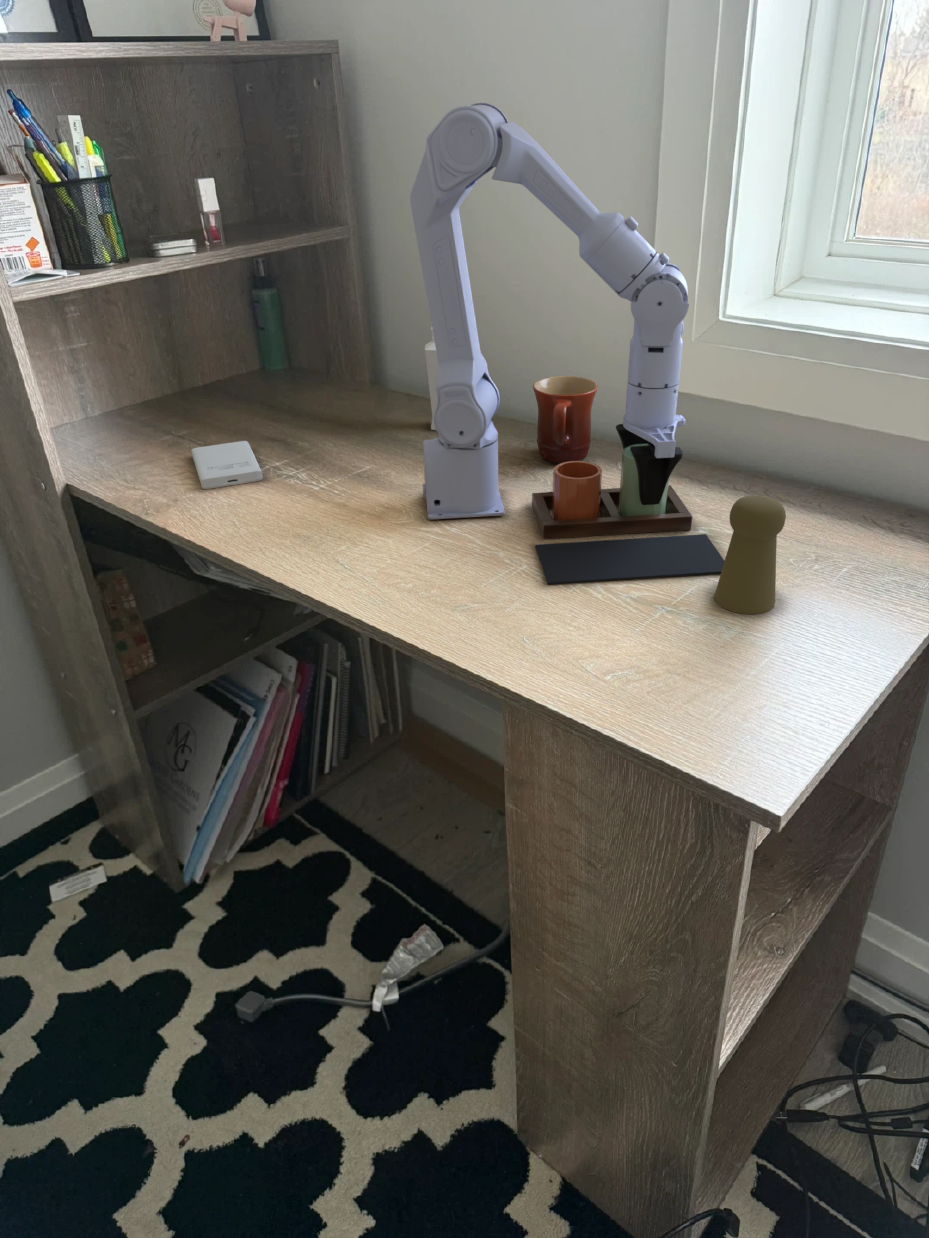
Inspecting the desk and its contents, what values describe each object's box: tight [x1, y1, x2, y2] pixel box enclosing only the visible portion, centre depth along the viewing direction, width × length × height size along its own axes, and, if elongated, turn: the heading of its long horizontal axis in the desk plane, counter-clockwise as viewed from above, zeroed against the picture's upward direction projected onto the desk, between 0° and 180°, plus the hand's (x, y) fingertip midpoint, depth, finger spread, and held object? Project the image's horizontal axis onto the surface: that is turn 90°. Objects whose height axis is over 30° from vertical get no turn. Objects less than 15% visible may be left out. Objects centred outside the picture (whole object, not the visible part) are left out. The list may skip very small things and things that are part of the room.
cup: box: [618, 444, 670, 516], centre depth 107 cm, size 6×6×8 cm
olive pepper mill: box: [713, 494, 787, 615], centre depth 89 cm, size 6×6×11 cm
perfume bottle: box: [424, 326, 439, 431], centre depth 135 cm, size 5×4×15 cm
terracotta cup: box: [551, 460, 603, 521], centre depth 107 cm, size 6×6×6 cm
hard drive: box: [190, 440, 264, 490], centre depth 126 cm, size 2×8×12 cm
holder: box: [531, 484, 693, 540], centre depth 109 cm, size 18×9×2 cm, turn 94°
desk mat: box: [535, 533, 725, 586], centre depth 100 cm, size 20×9×1 cm, turn 94°
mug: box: [532, 375, 599, 465], centre depth 123 cm, size 12×9×10 cm
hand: (643, 493), depth 108 cm, fingers closed on cup, 5 cm apart
